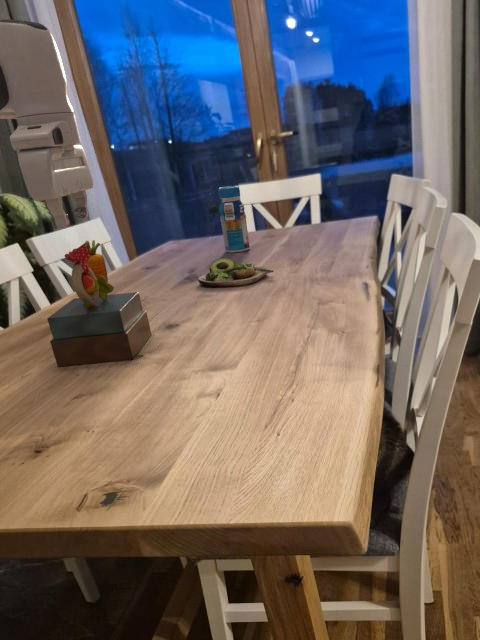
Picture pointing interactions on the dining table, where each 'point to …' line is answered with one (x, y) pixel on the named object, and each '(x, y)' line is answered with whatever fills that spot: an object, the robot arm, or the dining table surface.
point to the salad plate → (232, 274)
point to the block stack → (99, 330)
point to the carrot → (96, 261)
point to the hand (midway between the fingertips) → (73, 222)
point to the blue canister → (233, 220)
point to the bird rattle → (87, 278)
